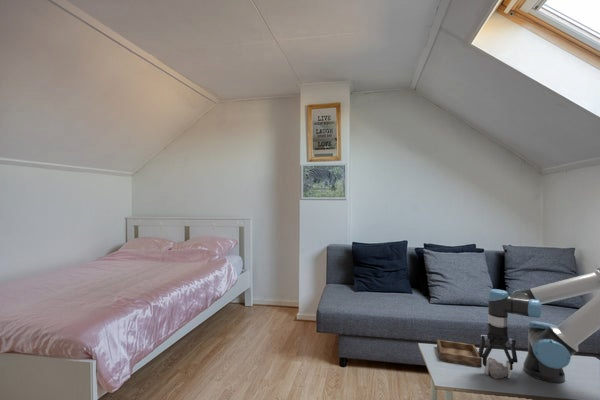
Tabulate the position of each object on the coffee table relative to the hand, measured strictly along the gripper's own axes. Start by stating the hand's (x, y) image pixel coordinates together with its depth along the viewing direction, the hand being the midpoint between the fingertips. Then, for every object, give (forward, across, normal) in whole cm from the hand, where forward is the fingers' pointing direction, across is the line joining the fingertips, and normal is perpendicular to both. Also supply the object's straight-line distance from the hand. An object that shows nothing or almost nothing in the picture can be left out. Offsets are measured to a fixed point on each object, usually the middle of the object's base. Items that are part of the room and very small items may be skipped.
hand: (497, 374), depth 143 cm
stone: (+1, 0, -1) cm, 1 cm away
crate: (0, +14, -14) cm, 20 cm away
